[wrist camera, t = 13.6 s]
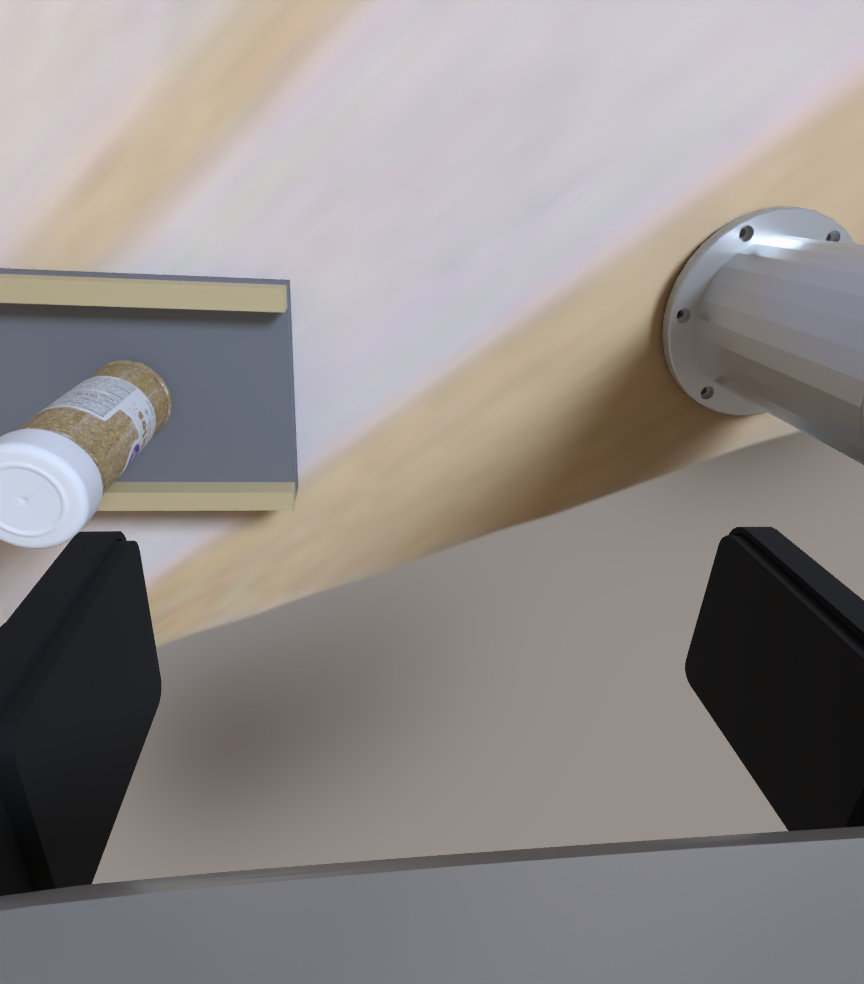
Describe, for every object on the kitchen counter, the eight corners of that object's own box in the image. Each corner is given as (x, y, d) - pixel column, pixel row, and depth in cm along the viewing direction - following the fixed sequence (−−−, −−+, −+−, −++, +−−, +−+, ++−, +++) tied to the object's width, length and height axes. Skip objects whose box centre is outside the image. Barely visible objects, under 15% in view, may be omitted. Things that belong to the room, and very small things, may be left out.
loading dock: (289, 280, 36) (283, 288, 33) (298, 486, 42) (293, 510, 39) (-53, 266, 34) (-94, 274, 31) (4, 485, 40) (-26, 511, 37)
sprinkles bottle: (167, 442, 38) (80, 564, 26) (85, 422, 37) (-47, 539, 25) (180, 369, 36) (92, 462, 24) (93, 346, 35) (-43, 431, 23)
